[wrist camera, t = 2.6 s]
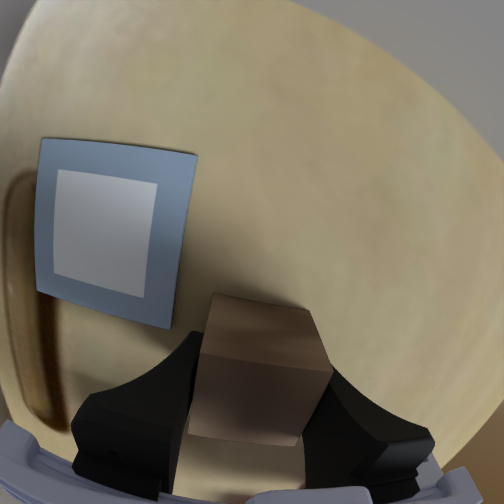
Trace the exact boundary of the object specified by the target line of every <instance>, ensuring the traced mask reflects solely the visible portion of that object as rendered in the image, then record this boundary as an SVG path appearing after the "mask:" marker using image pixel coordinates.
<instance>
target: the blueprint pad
mask: <svg viewBox="0 0 504 504" xmlns="http://www.w3.org/2000/svg"><path fill="white" fill-rule="evenodd" d="M197 159H198V156H196V155H190V154H184V153H178V152H172V151H165V150H158V149H151V148H144V147H136V146H128V145H120V144H110V143H101V142H90V141H77V140H63V139H44V138H42V144H41V150H40V157H39V165H38V174H37V185H36V198H35V222H34V247H35V271H36V285H37V291H40V292H43V293H46V294H48V295H51V296H54V297H57V298H60V299H63V300H66V301H69V302H72V303H75V304H78V305H81V306H84V307H87V308H90V309H94V310H97V311H100V312H104V313H107V314H110V315H114V316H117V317H121V318H124V319H128V320H132V321H136V322H139V323H143V324H147V325H151V326H155V327H159V328H163V329H167V330H170V329H171V325H172V316H173V307H174V299H175V291H176V283H177V275H178V268H179V261H180V254H181V248H182V241H183V235H184V229H185V223H186V217H187V211H188V206H189V200H190V195H191V189H192V184H193V179H194V174H195V169H196V164H197Z"/></svg>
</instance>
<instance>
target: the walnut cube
mask: <svg viewBox="0 0 504 504" xmlns="http://www.w3.org/2000/svg"><path fill="white" fill-rule="evenodd" d="M333 372H334V371H333V368H332V366H331V363H330V361H329V358H328V356H327V353H326V351H325V348H324V345H323V343H322V340H321V338H320V335H319V333H318V330H317V328H316V325H315V323H314V320H313V318H312V316H311V313H310V311H307V310H301V309H295V308H289V307H283V306H278V305H272V304H266V303H261V302H256V301H250V300H245V299H240V298H235V297H230V296H225V295H220V294H215V293H214V295H213V299H212V303H211V307H210V311H209V316H208V320H207V324H206V328H205V333H204V337H203V341H202V345H201V350H200V355H199V361H198V367H197V374H196V380H195V387H194V394H193V400H192V407H191V414H190V421H189V429H188V434H192V435H197V436H203V437H209V438H215V439H221V440H228V441H235V442H244V443H253V444H263V445H277V446H295V444H296V443H297V441H298V439H299V437H300V436H301V434H302V432H303V430H304V429H305V427H306V425H307V423H308V421H309V419H310V418H311V416H312V414H313V412H314V410H315V408H316V406H317V404H318V402H319V401H320V399H321V397H322V395H323V393H324V391H325V389H326V387H327V385H328V382H329V380H330V378H331V376H332V374H333Z"/></svg>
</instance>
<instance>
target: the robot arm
mask: <svg viewBox="0 0 504 504" xmlns="http://www.w3.org/2000/svg"><path fill="white" fill-rule="evenodd" d="M203 337H204V333H202V332H197V331H191V332H190V333H189V334H188V336H187V337H186V338H185V340H184V341H183V342H182V343H181V344H180V345H179V346H178V347H177V348H176V349H175V350H174V351H173V352H172V353H171V354H170V355H169V356H168V357H167V358H166V359H164V360H163V361H162V362H161V363H160V364H158V365H157V366H156V367H154V368H153V369H151V370H150V371H148V372H147V373H145V374H143V375H142V376H140V377H138V378H136V379H134V380H132V381H130V382H128V383H126V384H123V385H121V386H118V387H116V388H113V389H109V390H106V391H102V392H98V393H93V394H90V395H89V397H88V398H87V399H86V400H85V401H84V403H83V404H82V405H81V406H80V408H79V410H78V411H77V413H76V415H75V417H74V418H73V420H72V423H71V431H72V434H73V436H74V439H75V442H76V444H77V447H78V450H79V451H78V453H77V455H76V457H75V459H74V462H73V463H72V462H70V461H68V460H65V459H63V458H61V457H59V456H57V455H55V454H53V453H51V452H49V451H47V450H45V449H43V448H41V447H40V446H39V443H38V441H37V439H36V438H35V437H34V436H33V435H32V434H31V433H30V432H28V431H27V430H25V429H23V428H22V427H20V426H18V425H16V424H15V423H13V422H12V421H10V420H6V421H5V423H4V424H3V426H2V427H1V428H0V487H1V488H2V489H3V490H4V491H5V492H6V493H7V494H9V495H10V496H12V497H14V498H15V499H16V500H18V501H19V502H21V503H23V504H227V503H219V502H211V501H204V500H197V499H191V498H186V497H181V496H176V495H172V492H173V485H174V479H175V473H176V467H177V462H178V456H179V451H180V445H181V440H182V434H183V430H184V426H185V422H186V419H187V416H188V413H189V410H190V406H191V403H192V400H193V394H194V387H195V380H196V374H197V367H198V361H199V355H200V350H201V345H202V341H203ZM331 366H332V368H333V371H334V372H333V374H332V376H331V378H330V380H329V382H328V385H327V387H326V389H325V391H324V393H323V395H322V397H321V399H320V401H319V402H318V404H317V406H316V408H315V410H314V412H313V414H312V416H311V418H310V419H309V421H308V423H307V425H306V427H305V429H304V430H303V432H302V437H303V443H304V454H305V473H306V489H296V490H274V491H267V492H264V493H260V494H256V495H255V496H253V497H252V498H250V499H249V500H247V501H246V503H245V504H480V503H481V502H482V501H483V499H482V497H481V495H480V493H479V491H478V489H477V488H476V486H475V484H474V482H473V480H472V479H471V477H470V475H469V473H468V471H467V469H466V468H465V467H464V466H463V467H460V468H457V469H454V470H452V471H449V472H447V473H446V474H444V475H443V473H442V471H441V469H440V467H439V465H438V463H437V461H436V459H435V457H434V455H433V453H432V450H433V448H434V446H435V441H434V439H433V437H432V436H431V434H430V432H429V430H428V429H427V428H425V427H422V426H420V425H417V424H414V423H411V422H408V421H406V420H404V419H402V418H400V417H397V416H395V415H393V414H392V413H390V412H388V411H386V410H385V409H383V408H381V407H380V406H378V405H377V404H375V403H374V402H372V401H371V400H369V399H368V398H367V397H365V396H364V395H363V394H362V393H360V392H359V391H358V390H357V389H356V388H355V387H354V386H352V385H351V384H350V383H349V382H348V381H347V380H346V379H345V378H344V377H343V376H342V375H341V374H340V373H339V372H338V371H337V370H336V369H335V368H334V367H333V365H332V364H331Z"/></svg>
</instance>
